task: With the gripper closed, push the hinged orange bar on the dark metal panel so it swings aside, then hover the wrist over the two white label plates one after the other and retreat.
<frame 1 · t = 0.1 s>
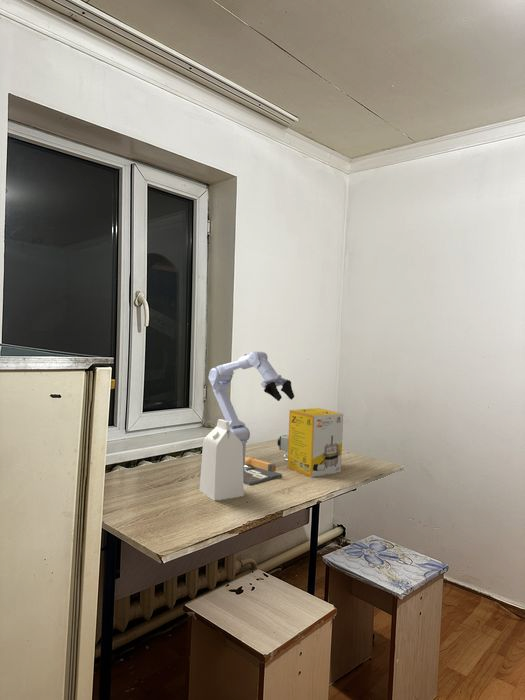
hand: (286, 398, 188), 32 cm above the table, tool tilted 50°, fingers open, 7 cm apart
milk: (221, 493, 168), on the table
panel: (248, 474, 192), on the table
bar: (259, 464, 194), point 4 cm above the table, hinge at 0.0°
packaging box: (313, 470, 202), on the table
label A: (253, 475, 191), resting on panel
pneumatic valve: (290, 461, 216), on the table
label B: (260, 479, 186), resting on panel
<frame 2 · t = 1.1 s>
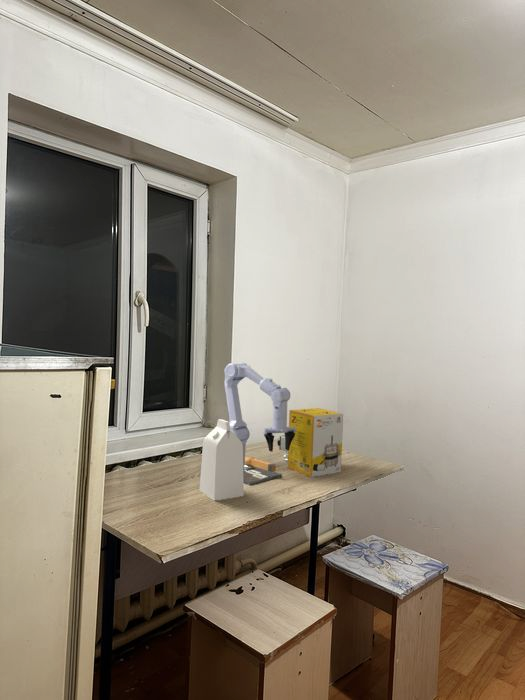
hand: (279, 450, 195), 10 cm above the table, tool pointing down, fingers open, 7 cm apart
nothing on the table moved.
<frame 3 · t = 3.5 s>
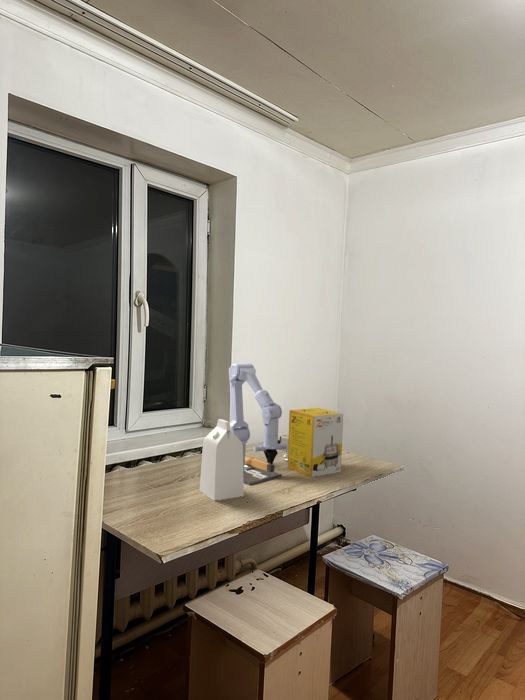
hand: (269, 467, 192), 3 cm above the table, tool pointing down, fingers closed
bar: (259, 464, 194), point 4 cm above the table, hinge at 2.9°, touching gripper
everything else where it was.
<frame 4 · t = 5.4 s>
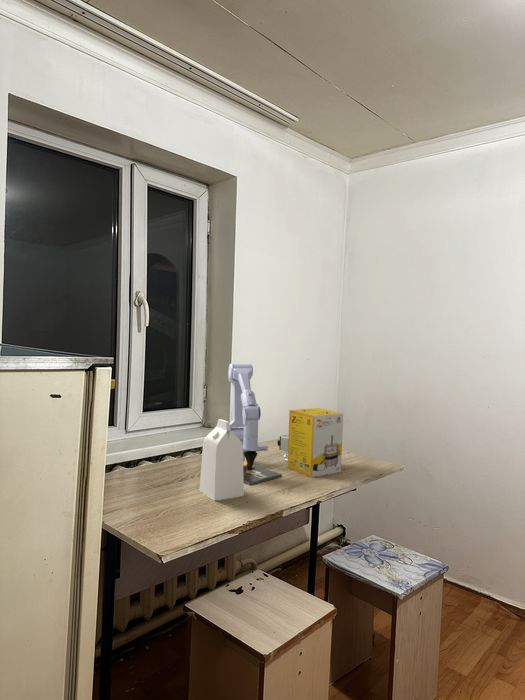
hand: (249, 469, 188), 3 cm above the table, tool pointing down, fingers closed, pressing on bar
bar: (246, 464, 193), point 4 cm above the table, hinge at 55.4°, touching gripper
everything else where it was.
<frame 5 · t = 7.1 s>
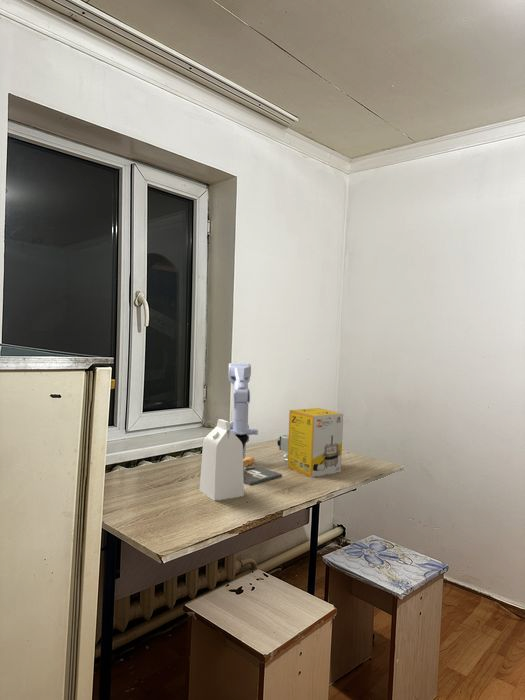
hand: (239, 453, 188), 9 cm above the table, tool pointing down, fingers closed
bar: (240, 463, 194), point 4 cm above the table, hinge at 80.4°
everything else where it was.
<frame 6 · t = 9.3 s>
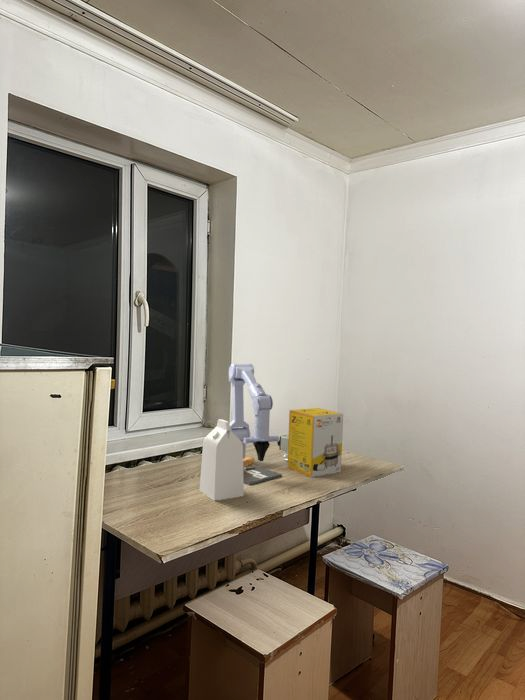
hand: (260, 460, 186), 7 cm above the table, tool pointing down, fingers closed
nothing on the table moved.
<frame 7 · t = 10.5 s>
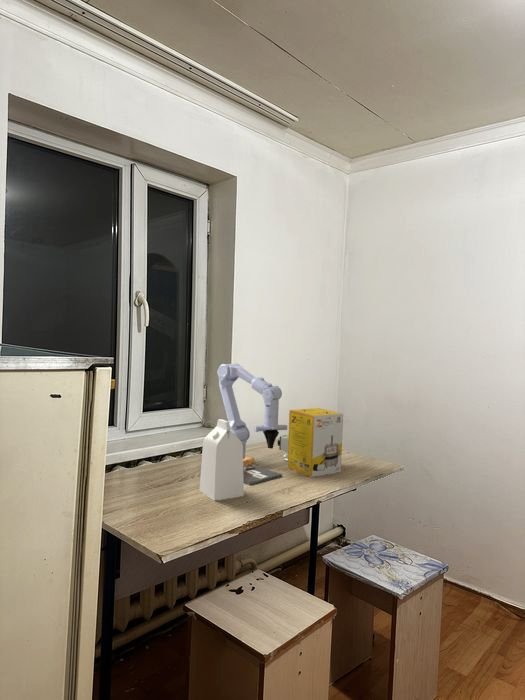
hand: (270, 447, 197), 10 cm above the table, tool pointing down, fingers closed
nothing on the table moved.
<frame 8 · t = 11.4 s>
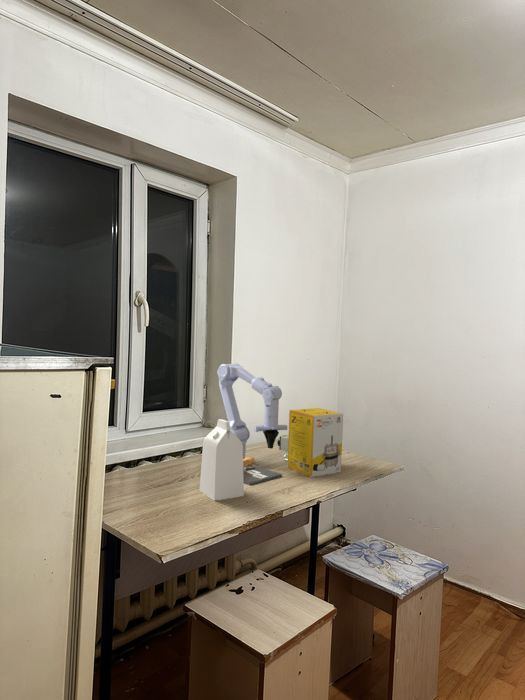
hand: (270, 447, 197), 10 cm above the table, tool pointing down, fingers closed
nothing on the table moved.
at the end: bar at +80° (first picture: +0°); bar touching nothing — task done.
